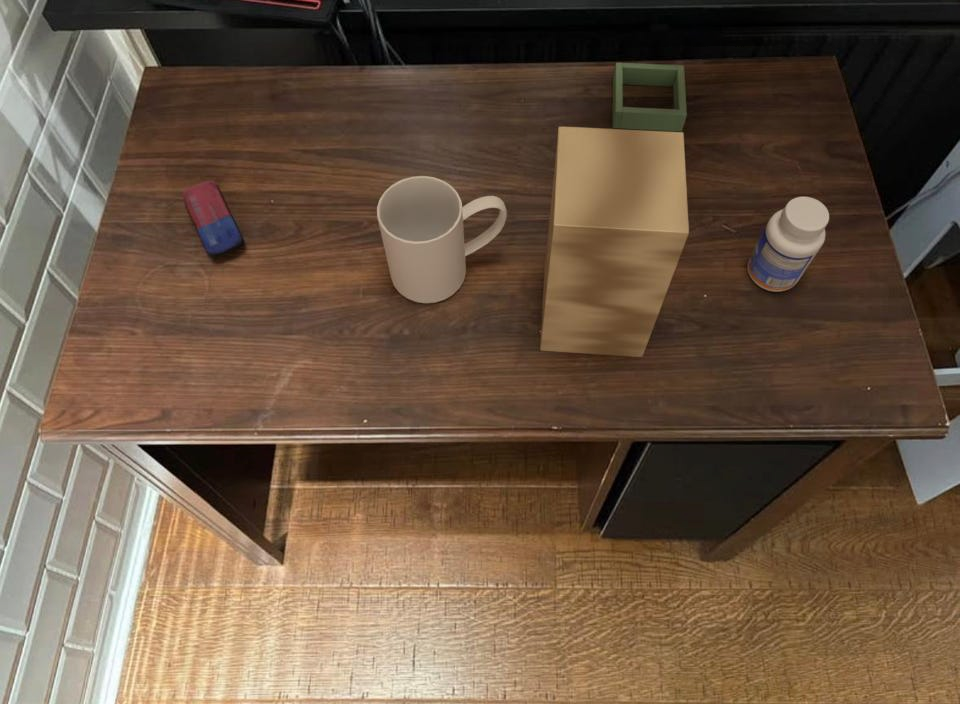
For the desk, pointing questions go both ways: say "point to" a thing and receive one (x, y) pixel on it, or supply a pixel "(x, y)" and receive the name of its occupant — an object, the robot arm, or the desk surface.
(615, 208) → the block
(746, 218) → the desk surface
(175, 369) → the desk surface
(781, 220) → the pill bottle
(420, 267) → the mug
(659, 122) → the bottle holder
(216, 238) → the eraser
